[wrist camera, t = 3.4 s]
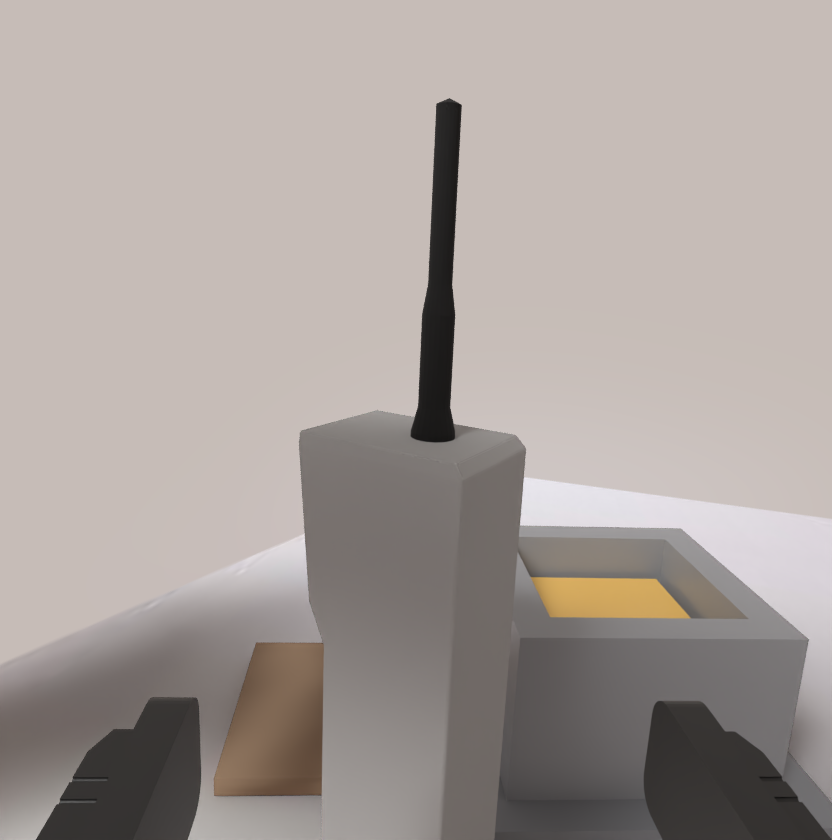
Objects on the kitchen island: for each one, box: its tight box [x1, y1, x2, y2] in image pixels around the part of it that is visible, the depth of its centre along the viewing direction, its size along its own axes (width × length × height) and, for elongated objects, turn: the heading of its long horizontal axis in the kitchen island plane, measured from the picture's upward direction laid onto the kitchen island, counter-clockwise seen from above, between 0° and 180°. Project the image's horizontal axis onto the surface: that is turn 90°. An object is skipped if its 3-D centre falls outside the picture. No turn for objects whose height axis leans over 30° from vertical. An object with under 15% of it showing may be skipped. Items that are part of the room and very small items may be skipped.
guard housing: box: [494, 526, 832, 840], centre depth 31 cm, size 15×14×8 cm
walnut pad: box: [214, 643, 324, 796], centre depth 32 cm, size 9×10×1 cm
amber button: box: [531, 577, 690, 618], centre depth 31 cm, size 7×7×3 cm
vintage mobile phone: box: [299, 98, 526, 840], centre depth 19 cm, size 4×5×25 cm
